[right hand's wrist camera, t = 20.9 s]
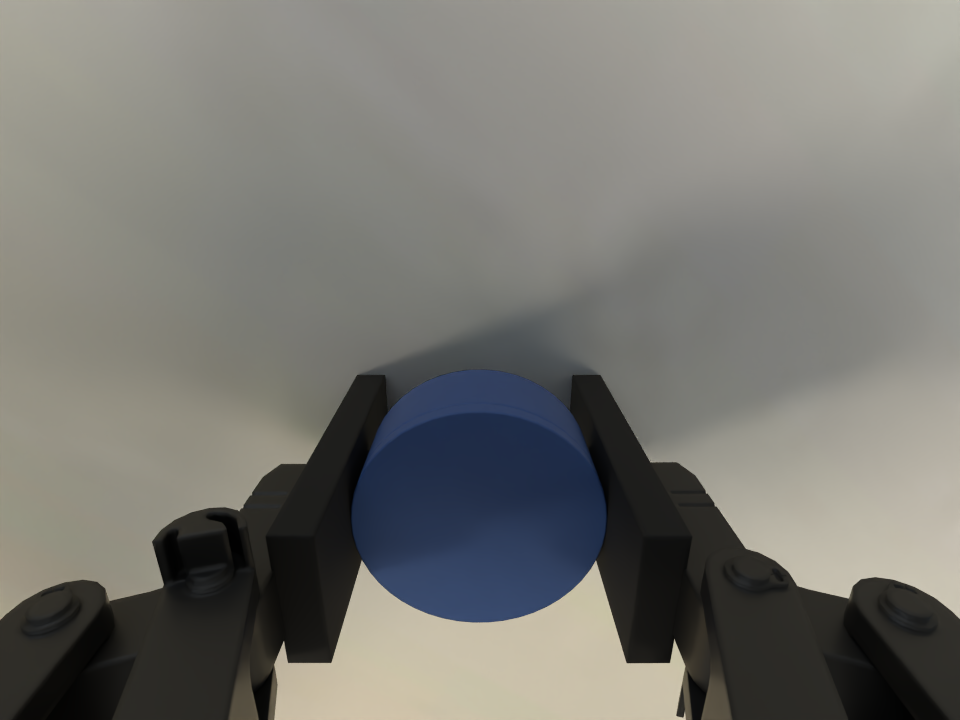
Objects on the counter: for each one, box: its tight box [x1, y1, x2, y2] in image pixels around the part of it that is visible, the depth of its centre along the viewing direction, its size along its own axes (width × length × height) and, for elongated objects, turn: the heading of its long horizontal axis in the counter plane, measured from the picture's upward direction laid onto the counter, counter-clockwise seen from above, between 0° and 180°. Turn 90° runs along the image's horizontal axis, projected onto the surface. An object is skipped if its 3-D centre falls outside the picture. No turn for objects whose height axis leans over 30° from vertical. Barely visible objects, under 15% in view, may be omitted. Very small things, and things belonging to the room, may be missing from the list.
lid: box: [351, 370, 607, 622], centre depth 11 cm, size 5×5×2 cm
